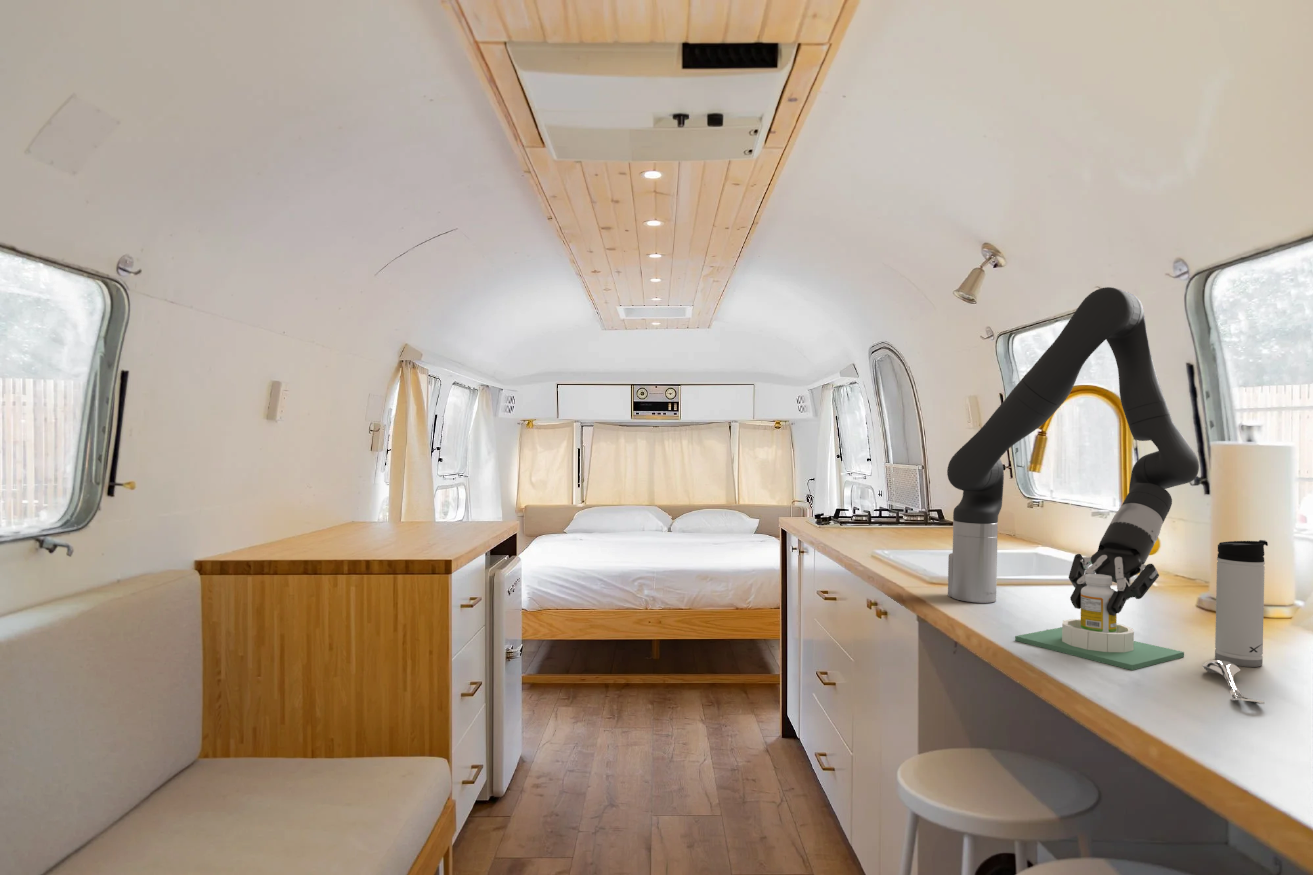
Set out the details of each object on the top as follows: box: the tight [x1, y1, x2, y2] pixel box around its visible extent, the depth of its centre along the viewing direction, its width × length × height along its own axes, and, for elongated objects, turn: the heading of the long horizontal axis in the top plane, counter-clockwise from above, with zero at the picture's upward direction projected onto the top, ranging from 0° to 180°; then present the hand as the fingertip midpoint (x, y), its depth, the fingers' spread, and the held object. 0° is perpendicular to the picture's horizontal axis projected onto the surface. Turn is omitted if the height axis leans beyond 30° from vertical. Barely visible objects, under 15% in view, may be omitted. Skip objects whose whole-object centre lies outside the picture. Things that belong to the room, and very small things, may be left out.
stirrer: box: [1202, 659, 1266, 705], centre depth 114 cm, size 20×4×5 cm
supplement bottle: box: [1080, 573, 1118, 633], centre depth 136 cm, size 5×5×10 cm
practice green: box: [1014, 618, 1185, 671], centre depth 136 cm, size 20×16×4 cm
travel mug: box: [1214, 539, 1269, 668], centre depth 129 cm, size 6×7×20 cm
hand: (1092, 608), depth 135 cm, fingers closed on supplement bottle, 5 cm apart
